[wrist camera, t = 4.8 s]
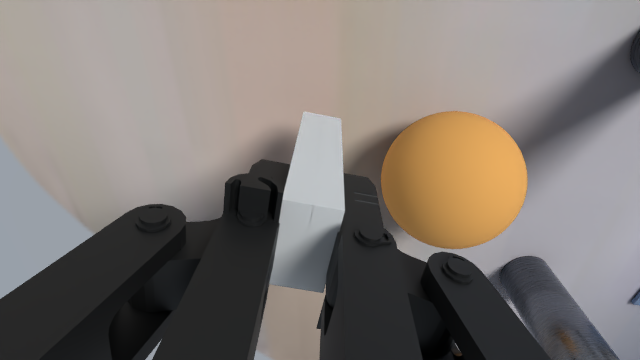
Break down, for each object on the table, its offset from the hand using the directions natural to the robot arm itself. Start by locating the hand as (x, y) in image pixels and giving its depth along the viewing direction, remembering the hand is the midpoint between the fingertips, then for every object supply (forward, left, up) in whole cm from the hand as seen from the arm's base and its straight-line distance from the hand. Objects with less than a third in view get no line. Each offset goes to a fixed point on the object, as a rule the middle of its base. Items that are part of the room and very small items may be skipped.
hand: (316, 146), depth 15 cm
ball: (-6, 0, 0) cm, 6 cm away
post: (-13, +6, -2) cm, 15 cm away
